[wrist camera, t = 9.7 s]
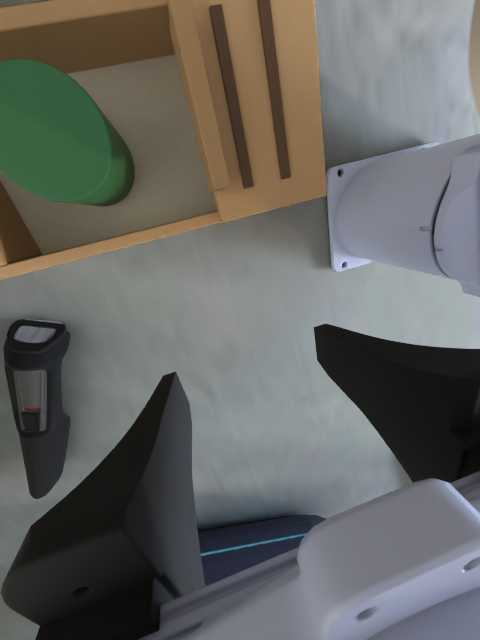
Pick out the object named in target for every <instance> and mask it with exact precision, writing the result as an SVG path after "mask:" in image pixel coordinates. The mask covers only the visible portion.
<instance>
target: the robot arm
mask: <svg viewBox="0 0 480 640" xmlns="http://www.w3.org/2000/svg"><path fill="white" fill-rule="evenodd" d="M338 170H340V172H341V174H340V176H338V174H337V172H338ZM326 188H327V205H328V221H329V237H330V253H331V268H332V270H333V271H335V272H340V271H343V270H347V269H350V268H353V267H357V266H360V265H363V264H367V263H370V262H374V261H377V262H381V263H385V264H390V265H394V266H398V267H402V268H407V269H411V270H415V271H420V272H424V273H428V274H432V275H437V276H441V277H445V278H450V279H454V280H457V281H458V282H459V283H460V284H461V286H462V289H463V292H464V293H467V294H471V295H474V296H478V297H480V134H477V135H474V136H470V137H466V138H463V139H459V140H455V141H452V142H448V143H445V144H441V145H439V144H438V142H431V143H427V144H423V145H419V146H415V147H411V148H407V149H403V150H399V151H395V152H391V153H387V154H383V155H379V156H375V157H370V158H366V159H362V160H358V161H354V162H350V163H346V164H342V165H338V166H334V167H331V168H329V169H328V170H327V172H326ZM343 262H344V265H343V266H341V265H342V263H343ZM314 333H315V342H316V352H317V360H318V362H319V363H320V365H321V366H322V367H323V369H324V370H325V372H326V373H327V374H328V376H329V377H330V378H331V379H332V380H333V381H334V382H335V383H336V384H337V385H338V386H339V387H340V389H341V390H342V391H343V392H344V393H345V394H346V395H347V396H348V397H349V398H350V399H351V400H352V401H353V402H354V403H355V404H356V405H357V407H358V408H359V409H360V410H361V411H362V412H363V413H364V415H365V416H366V417H367V419H368V420H369V421H370V422H371V424H372V425H373V426H374V428H375V429H376V430H377V432H378V433H379V434H380V436H381V437H382V438H383V440H384V441H385V443H386V444H387V445H388V447H389V448H390V449H391V451H392V452H393V454H394V455H395V457H396V458H397V459H398V461H399V462H400V464H401V465H402V467H403V468H404V470H405V471H406V473H407V474H408V476H409V477H410V479H411V480H412V482H413V483H412V484H409V485H407V486H404V487H402V488H399V489H397V490H395V491H392V492H390V493H387V494H385V495H383V496H380V497H378V498H375V499H373V500H371V501H368V502H366V503H363V504H361V505H358V506H356V507H354V508H351V509H349V510H346V511H344V512H342V513H339V514H337V515H334V516H332V517H330V518H328V519H326V520H325V521H323V522H321V523H320V524H318V525H316V526H314V527H313V528H312V529H311V530H310V531H309V532H308V533H307V534H306V536H305V537H304V538H303V539H302V540H301V543H300V546H299V547H298V548H295V549H293V550H291V551H288V552H286V553H284V554H281V555H279V556H276V557H274V558H272V559H269V560H267V561H265V562H262V563H260V564H258V565H255V566H253V567H250V568H248V569H246V570H243V571H241V572H239V573H236V574H234V575H231V576H229V577H227V578H224V579H222V580H220V581H217V582H215V583H213V584H210V585H208V586H205V582H204V575H203V568H202V561H201V553H200V545H199V537H198V529H197V521H196V512H195V503H194V493H193V482H192V421H191V413H190V405H189V401H188V399H187V397H186V394H185V392H184V390H183V387H182V385H181V383H180V380H179V378H178V375H177V373H176V372H173V373H170V374H167V375H164V376H163V377H162V379H161V381H160V382H159V384H158V386H157V387H156V389H155V391H154V393H153V394H152V396H151V398H150V399H149V401H148V403H147V404H146V406H145V408H144V409H143V411H142V412H141V413H140V415H139V416H138V418H137V419H136V421H135V422H134V424H133V425H132V427H131V428H130V429H129V431H128V432H127V433H126V434H125V436H124V437H123V438H122V439H121V441H120V442H119V443H118V444H117V445H116V447H115V448H114V449H113V450H112V451H111V452H110V453H109V454H108V455H107V456H106V458H105V459H104V460H103V461H102V462H101V463H100V464H99V465H98V466H97V467H96V468H95V469H94V470H93V471H92V472H91V473H90V474H89V475H88V476H87V477H86V478H85V479H84V480H83V481H82V482H81V483H80V484H79V485H78V486H77V487H76V488H75V489H74V490H72V491H71V492H70V493H69V494H68V495H67V496H66V497H65V498H64V499H62V500H61V501H60V502H59V503H58V504H56V505H55V506H54V507H53V508H52V509H51V510H49V511H48V512H47V513H46V514H45V515H43V516H42V517H41V518H40V519H39V520H38V521H36V522H35V523H34V524H33V525H31V527H30V529H29V531H28V533H27V535H26V537H25V539H24V541H23V543H22V545H21V547H20V549H19V551H18V553H17V555H16V558H15V560H14V562H13V564H12V566H11V568H10V570H9V572H8V574H7V576H6V578H5V580H4V582H3V585H2V589H1V594H2V597H3V600H4V602H5V604H7V605H8V606H9V607H10V608H11V609H12V610H14V611H16V612H17V613H19V614H21V615H22V616H24V617H26V618H27V619H29V620H31V621H32V622H34V623H36V624H38V625H39V626H40V628H39V631H38V634H37V637H36V640H480V349H458V348H441V347H430V346H421V345H413V344H406V343H400V342H394V341H389V340H385V339H380V338H376V337H372V336H368V335H364V334H360V333H357V332H353V331H350V330H346V329H343V328H340V327H336V326H332V325H328V324H323V325H320V326H317V327H314Z"/></svg>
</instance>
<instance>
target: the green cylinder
mask: <svg viewBox="0 0 480 640" xmlns="http://www.w3.org/2000/svg"><path fill="white" fill-rule="evenodd" d="M0 170H1V171H2V172H3V173H4V174H5V175H6V176H7V177H8V178H9V179H10V180H11V181H13V182H14V183H15V184H17V185H18V186H19V187H21V188H22V189H24V190H26V191H28V192H29V193H31V194H33V195H36V196H38V197H41V198H44V199H47V200H51V201H57V202H65V203H74V204H83V205H91V206H111V205H114V204H116V203H118V202H120V201H122V200H123V199H124V198H125V197H126V196H127V195H128V193H129V192H130V190H131V188H132V186H133V183H134V177H135V168H134V162H133V158H132V155H131V153H130V150H129V148H128V146H127V145H126V143H125V142H124V140H123V139H122V137H121V136H120V135H119V133H118V132H117V131H116V129H115V128H114V127H113V125H112V124H111V123H110V121H109V120H108V119H107V117H106V116H105V115H104V114H103V112H102V111H101V110H100V108H99V107H98V106H97V104H96V103H95V102H94V100H93V99H92V98H91V96H90V95H89V94H88V93H87V92H86V91H85V89H84V88H83V87H81V86H80V85H79V84H78V83H77V82H76V81H75V80H74V79H72V78H71V77H70V76H69V75H67V74H66V73H64V72H63V71H61V70H59V69H57V68H55V67H53V66H51V65H49V64H47V63H44V62H41V61H37V60H32V59H23V58H17V59H9V60H5V61H2V62H0Z"/></svg>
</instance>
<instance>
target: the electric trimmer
mask: <svg viewBox="0 0 480 640" xmlns="http://www.w3.org/2000/svg"><path fill="white" fill-rule="evenodd" d="M69 341H70V333H69V332H68V331H66V326H65V325H64V323H63V324H62V322H58V321H57V322H54V321H50V320H49V321H45V322H44V320H43V321H42V320H38V319H37V320H35V319H32V320H31V319H28V318H27V319H25V320H18V321H15V322H14V323H12V325H11V326H10V327H9V330H8V333H7V339H6V341H5V345H4V361H5V372H6V377H7V382H8V388H9V393H10V398H11V403H12V409H13V414H14V419H15V423H16V426H17V430H18V432H19V437H20V442H21V447H22V453H23V458H24V463H25V469H26V475H27V480H28V486H29V491H30V494H31V496H32V497H33V498H35V499H39V498H41V497H43V496H45V495H46V494H47V493H48V492H49V491H50V490H51V489H52V488H53V486H54V485H55V484H56V482H57V481H58V480H59V478H60V476H61V474H62V472H63V466H64V461H65V455H66V448H67V442H68V435H69V426H70V417H69V416H67V415H66V414H65V413H64V412H63V411H62V403H61V363H62V358H63V357H64V355H65V353H66V351H67V349H68V346H69Z"/></svg>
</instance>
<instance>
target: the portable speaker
mask: <svg viewBox="0 0 480 640" xmlns="http://www.w3.org/2000/svg"><path fill="white" fill-rule="evenodd" d="M325 520H326V519H325V518H322V517H319V516H316V515H296V516H290V517H284V518H278V519H272V520H267V521H261V522H255V523H249V524H243V525H237V526H231V527H225V528H219V529H213V530H207V531H202V532H198V537H199V545H200V553H201V561H202V568H203V575H204V582H205V586H208V585H210V584H213V583H215V582H217V581H220V580H222V579H224V578H227V577H229V576H231V575H234V574H236V573H239V572H241V571H243V570H246V569H248V568H250V567H253V566H255V565H258V564H260V563H262V562H265V561H267V560H269V559H272V558H274V557H276V556H279V555H281V554H284V553H286V552H288V551H291V550H293V549H295V548H298V547H299V546H300V543H301V540H302V539H303V538H304V537H305V536H306V534H307V533H308V532H309V531H310V530H311V529H312V528H313V527H314V526H316V525H318V524H320V523H321V522H323V521H325Z"/></svg>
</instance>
